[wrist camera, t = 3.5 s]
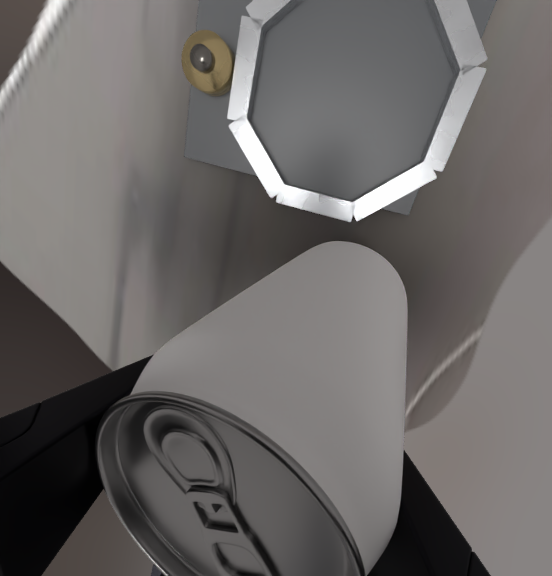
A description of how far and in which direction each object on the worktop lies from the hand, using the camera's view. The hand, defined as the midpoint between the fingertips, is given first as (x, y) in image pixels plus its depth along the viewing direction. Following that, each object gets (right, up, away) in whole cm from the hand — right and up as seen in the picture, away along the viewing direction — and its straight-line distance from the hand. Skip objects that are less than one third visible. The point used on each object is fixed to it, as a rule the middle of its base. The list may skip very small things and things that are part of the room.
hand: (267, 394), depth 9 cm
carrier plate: (+2, +14, +6) cm, 15 cm away
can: (+4, +3, +7) cm, 8 cm away
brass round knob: (-3, +15, +7) cm, 16 cm away
